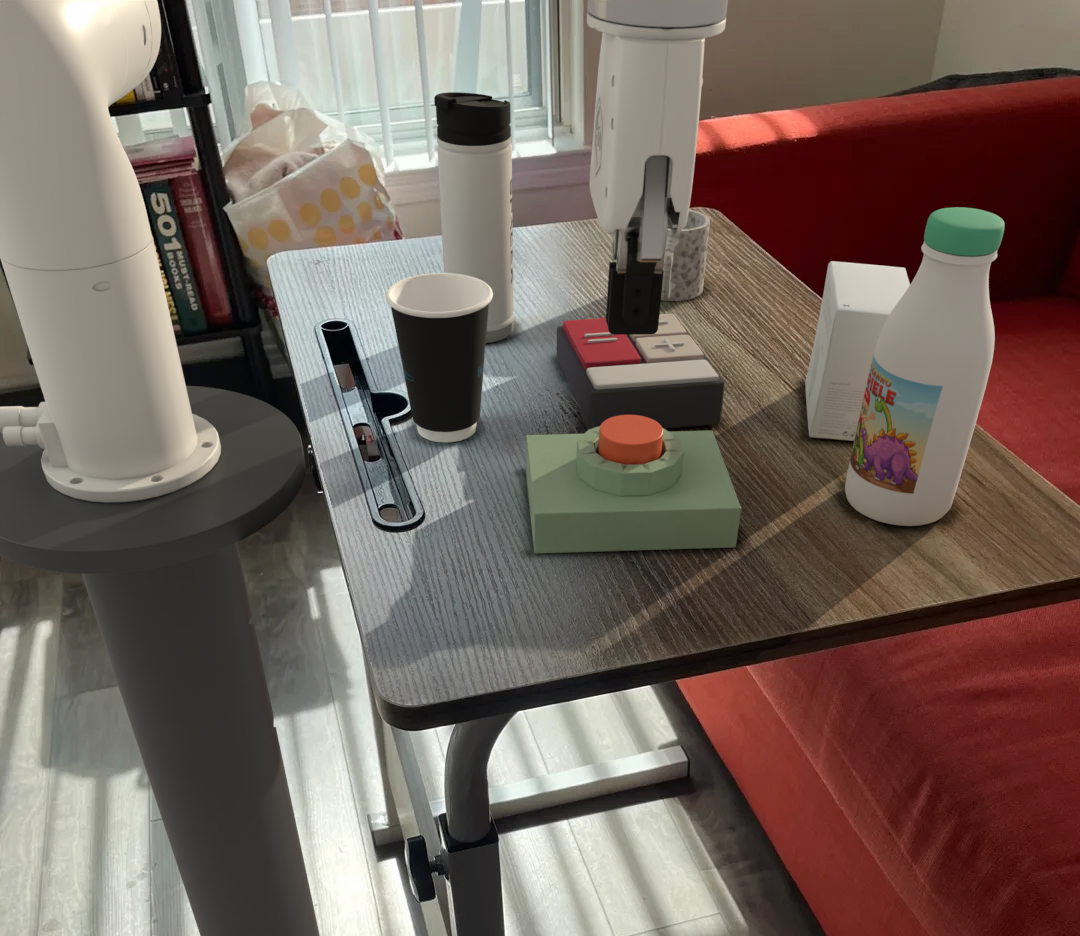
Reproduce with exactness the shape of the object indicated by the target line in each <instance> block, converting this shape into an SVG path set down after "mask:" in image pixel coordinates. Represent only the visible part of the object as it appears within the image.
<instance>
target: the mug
mask: <svg viewBox="0 0 1080 936" xmlns="http://www.w3.org/2000/svg"><path fill="white" fill-rule="evenodd" d="M710 227H711V218H710V217H709V215H706V214H705V213H703V212H700V211H698V210H694V209H689V213H688V218H687V223H686V226H685V227H684V228H683V229H682V230H681V231H680V232H679V233H677V234H673V232H672V231H671V228H670V226H669V224H668V231H667V239H666V247H665V255H664V263H663V271H664V273H663V283H662V293H661V301H665V302H666V301H667V302H681V301H687V300H688V301H689V300H692V299H695V298H697V297H699V296H701V295H702V293H703V291H704V285H705V274H706V264H707V255H708V247H709V237H710V236H709V235H710Z"/></svg>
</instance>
